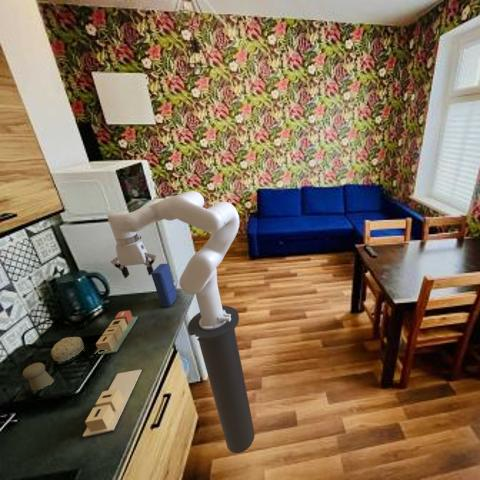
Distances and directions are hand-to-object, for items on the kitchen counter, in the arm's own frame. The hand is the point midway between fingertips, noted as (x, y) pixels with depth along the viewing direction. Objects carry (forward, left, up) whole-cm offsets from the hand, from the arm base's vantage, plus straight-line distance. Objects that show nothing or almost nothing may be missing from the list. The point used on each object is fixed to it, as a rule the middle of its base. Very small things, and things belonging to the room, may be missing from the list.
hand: (139, 274), depth 118 cm
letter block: (+10, +6, -23) cm, 25 cm away
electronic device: (0, -12, -24) cm, 26 cm away
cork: (+10, +40, -24) cm, 48 cm away
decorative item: (+16, +26, -24) cm, 39 cm away
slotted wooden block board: (-18, +40, -23) cm, 50 cm away
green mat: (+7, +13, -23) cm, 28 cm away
